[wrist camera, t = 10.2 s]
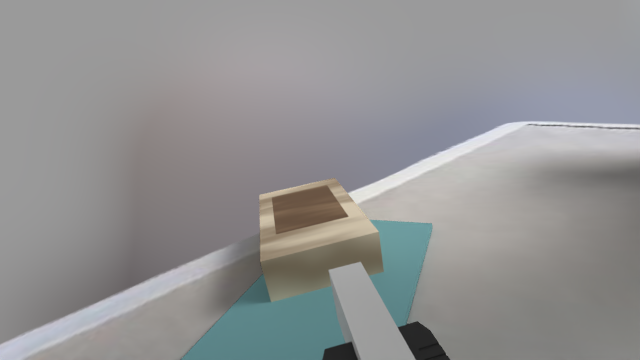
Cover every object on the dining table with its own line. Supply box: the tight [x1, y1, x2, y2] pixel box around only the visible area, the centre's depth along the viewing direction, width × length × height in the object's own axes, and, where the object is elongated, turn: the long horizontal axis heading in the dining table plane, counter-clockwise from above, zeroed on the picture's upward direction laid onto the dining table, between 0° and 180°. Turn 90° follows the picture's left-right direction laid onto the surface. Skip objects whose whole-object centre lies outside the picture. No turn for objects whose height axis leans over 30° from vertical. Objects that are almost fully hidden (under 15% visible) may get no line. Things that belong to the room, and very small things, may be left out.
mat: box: [181, 220, 432, 360], centre depth 26 cm, size 26×14×1 cm, turn 154°
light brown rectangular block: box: [260, 178, 384, 302], centre depth 33 cm, size 4×10×16 cm
